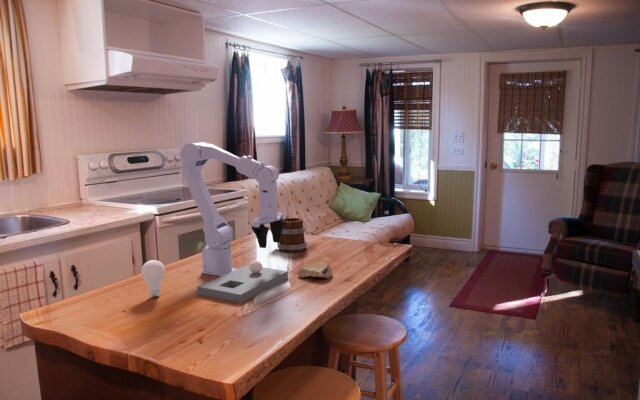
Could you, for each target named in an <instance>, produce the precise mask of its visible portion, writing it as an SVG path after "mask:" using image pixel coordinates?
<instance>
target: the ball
mask: <svg viewBox="0 0 640 400" xmlns="http://www.w3.org/2000/svg"><path fill="white" fill-rule="evenodd" d="M249 265H250V271H251V272H253V273H259V272H260V271H261V270H262V267H263V264H262V263H261V262H260V261H259V260H253V261H251V262H250V264H249Z"/></svg>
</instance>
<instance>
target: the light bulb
mask: <svg viewBox="0 0 640 400" xmlns="http://www.w3.org/2000/svg"><path fill="white" fill-rule="evenodd" d="M140 271H141V273H140V274H141V277H142V279H143V281H144V282H145V283H146V284H147V288H148V290H149V296H151V297H153V298H157V297H159V296H160V295H161V290H160V289H161V286H162V285H161V284H162V281H163V279H164V277H165V275H166V268H165V265H164V264H163V262H161V261H159V260H156V259H151V260H148V261H146V262H144V263H143V265H142V267H141V269H140Z"/></svg>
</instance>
